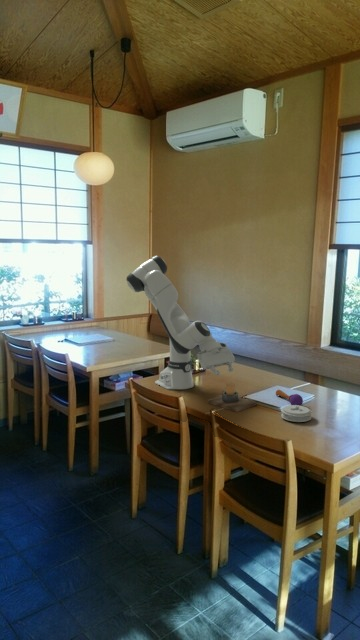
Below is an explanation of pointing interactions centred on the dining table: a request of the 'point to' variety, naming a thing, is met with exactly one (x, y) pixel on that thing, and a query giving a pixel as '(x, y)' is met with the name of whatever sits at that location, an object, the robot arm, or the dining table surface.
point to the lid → (296, 413)
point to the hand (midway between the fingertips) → (225, 372)
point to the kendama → (291, 398)
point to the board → (236, 406)
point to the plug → (230, 389)
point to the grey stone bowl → (230, 397)
